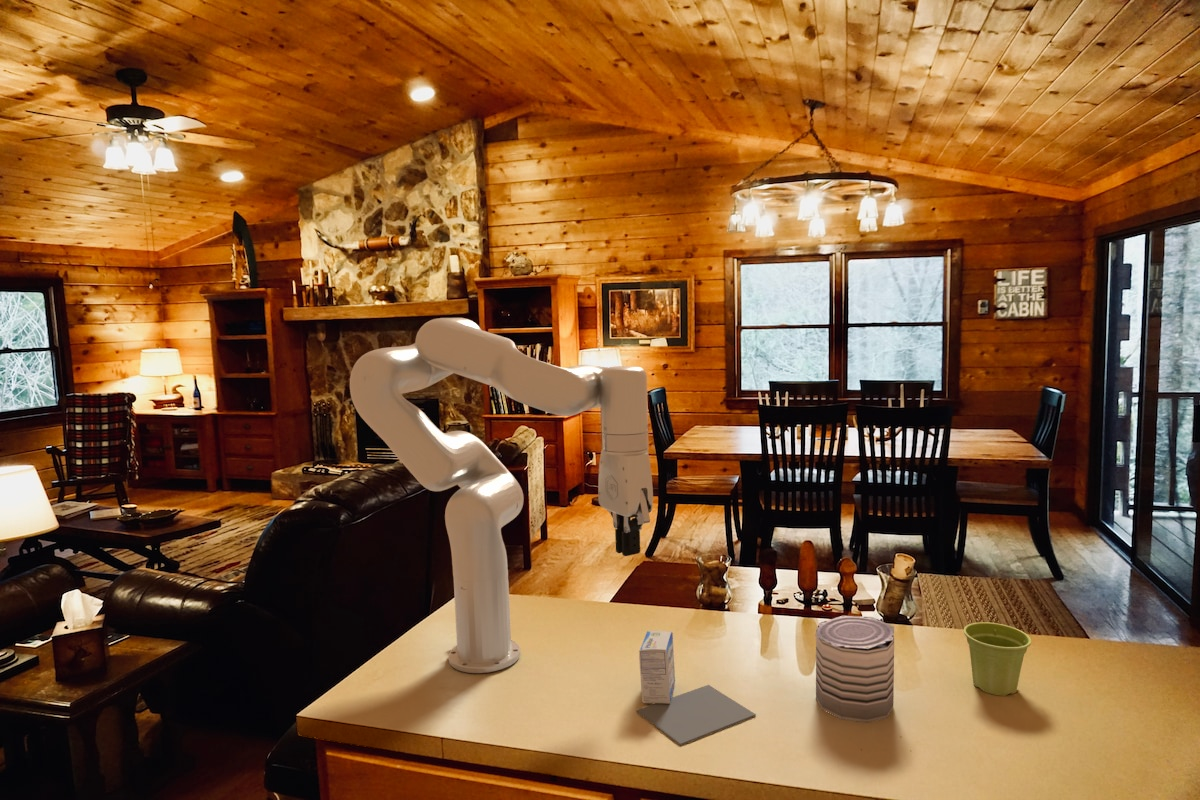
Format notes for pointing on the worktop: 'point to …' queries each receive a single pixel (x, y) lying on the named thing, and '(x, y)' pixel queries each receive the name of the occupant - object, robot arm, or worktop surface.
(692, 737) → the mat
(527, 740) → the worktop surface
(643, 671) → the medicine box
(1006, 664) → the plant pot
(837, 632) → the can
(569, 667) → the worktop surface
